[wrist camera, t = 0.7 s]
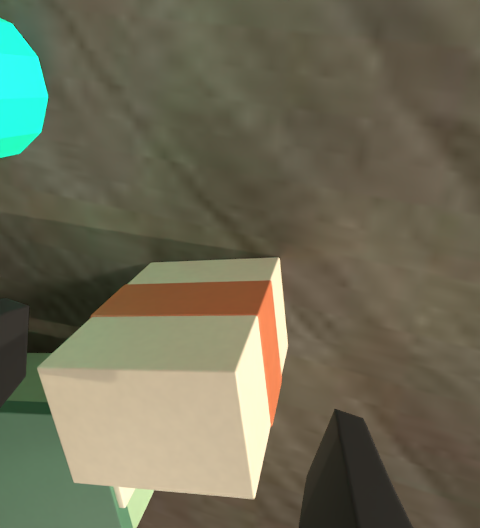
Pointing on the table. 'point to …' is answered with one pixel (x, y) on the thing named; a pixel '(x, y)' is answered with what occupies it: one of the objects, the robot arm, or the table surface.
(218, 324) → the juice carton
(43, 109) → the candle
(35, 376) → the lunchbox
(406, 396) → the table surface
